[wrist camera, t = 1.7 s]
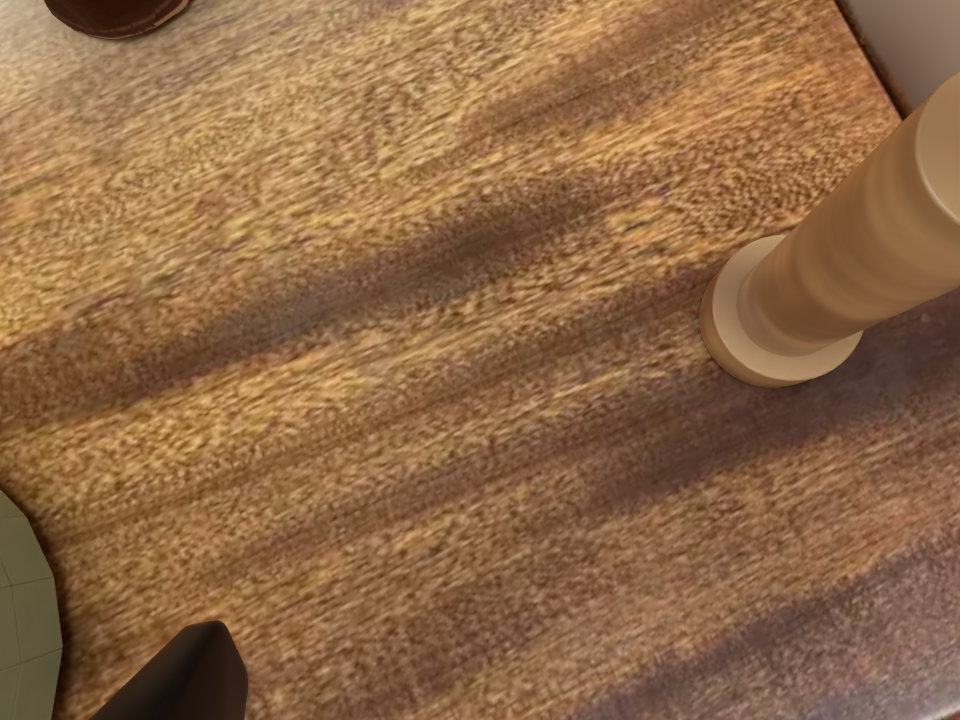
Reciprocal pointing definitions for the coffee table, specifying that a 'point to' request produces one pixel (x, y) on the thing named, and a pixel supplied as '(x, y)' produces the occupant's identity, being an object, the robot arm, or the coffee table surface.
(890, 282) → the muddler
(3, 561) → the bowl
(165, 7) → the coffee cup
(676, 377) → the coffee table surface
